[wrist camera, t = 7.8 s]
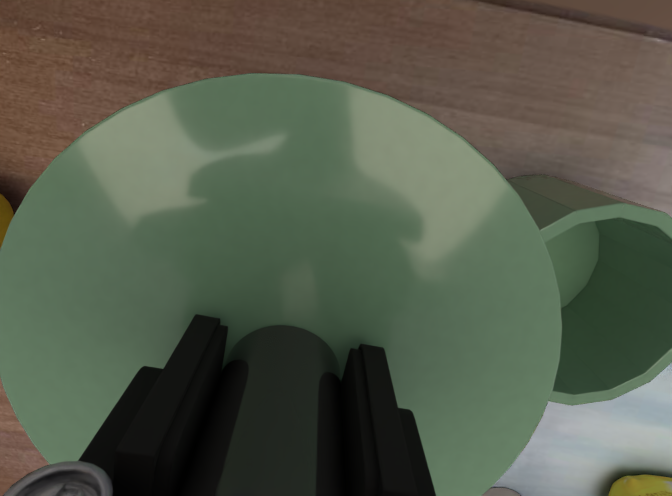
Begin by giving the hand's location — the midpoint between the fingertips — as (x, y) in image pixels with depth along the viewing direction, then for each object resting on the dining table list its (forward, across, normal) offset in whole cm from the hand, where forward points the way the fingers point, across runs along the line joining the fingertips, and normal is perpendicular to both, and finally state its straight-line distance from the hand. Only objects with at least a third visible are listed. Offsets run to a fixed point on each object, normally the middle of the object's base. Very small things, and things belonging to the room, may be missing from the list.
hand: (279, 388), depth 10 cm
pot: (+23, -17, +2) cm, 29 cm away
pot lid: (+1, 0, 0) cm, 1 cm away
